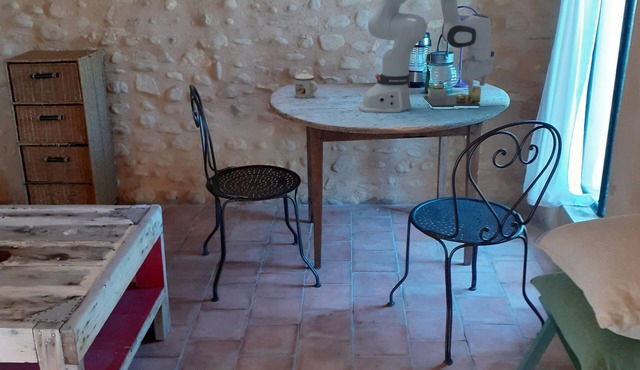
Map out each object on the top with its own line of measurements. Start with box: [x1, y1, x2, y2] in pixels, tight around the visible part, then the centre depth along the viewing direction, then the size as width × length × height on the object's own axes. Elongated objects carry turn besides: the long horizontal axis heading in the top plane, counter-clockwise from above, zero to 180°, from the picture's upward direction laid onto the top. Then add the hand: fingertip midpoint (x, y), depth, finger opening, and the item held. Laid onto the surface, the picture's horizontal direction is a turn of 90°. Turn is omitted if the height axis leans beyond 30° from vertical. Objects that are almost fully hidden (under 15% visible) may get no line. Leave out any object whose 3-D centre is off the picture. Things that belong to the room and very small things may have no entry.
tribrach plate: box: [423, 84, 481, 107], centre depth 281 cm, size 20×18×8 cm
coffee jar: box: [424, 52, 432, 92], centre depth 302 cm, size 10×8×19 cm
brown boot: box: [455, 85, 482, 104], centre depth 276 cm, size 11×5×6 cm, turn 49°
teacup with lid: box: [294, 70, 318, 99], centre depth 297 cm, size 12×9×12 cm
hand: (476, 87), depth 273 cm, fingers open, 8 cm apart
